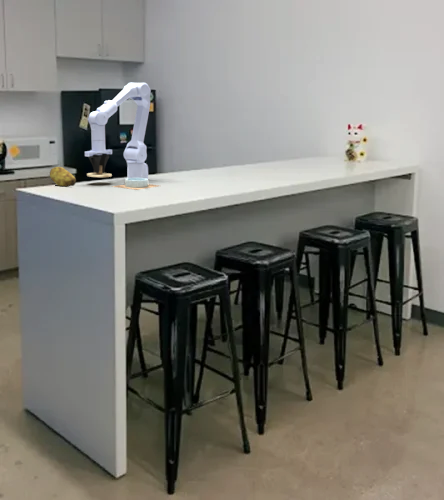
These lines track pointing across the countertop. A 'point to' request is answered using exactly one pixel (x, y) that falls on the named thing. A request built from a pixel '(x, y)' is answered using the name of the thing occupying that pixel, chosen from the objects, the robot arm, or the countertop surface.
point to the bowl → (136, 182)
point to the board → (136, 188)
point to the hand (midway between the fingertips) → (99, 172)
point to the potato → (62, 177)
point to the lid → (99, 173)
